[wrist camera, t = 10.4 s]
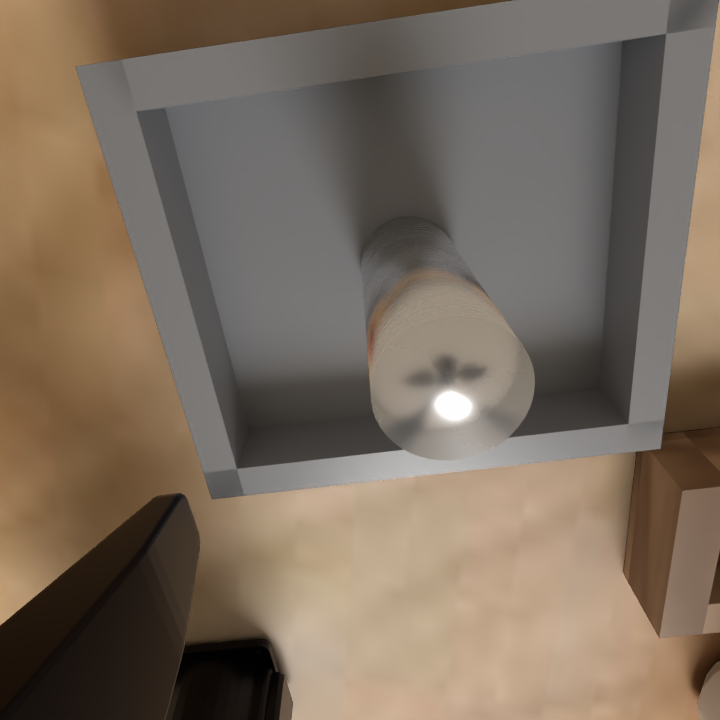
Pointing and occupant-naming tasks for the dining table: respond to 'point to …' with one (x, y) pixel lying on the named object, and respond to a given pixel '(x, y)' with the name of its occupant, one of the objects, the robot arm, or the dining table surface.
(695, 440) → the socket block
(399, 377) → the pin
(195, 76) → the tray
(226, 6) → the dining table surface
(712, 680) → the can
